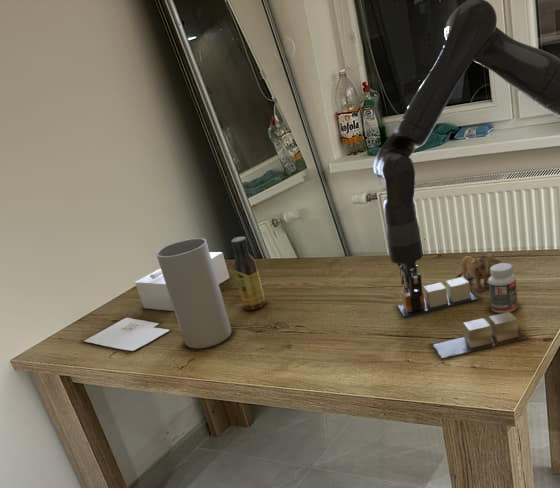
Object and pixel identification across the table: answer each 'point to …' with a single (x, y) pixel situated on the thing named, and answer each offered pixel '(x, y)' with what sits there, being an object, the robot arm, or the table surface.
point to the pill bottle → (502, 288)
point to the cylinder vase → (194, 293)
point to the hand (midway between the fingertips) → (414, 306)
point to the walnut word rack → (482, 336)
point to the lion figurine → (478, 268)
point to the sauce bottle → (247, 275)
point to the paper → (127, 334)
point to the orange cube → (407, 300)
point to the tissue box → (156, 290)
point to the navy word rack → (444, 296)
